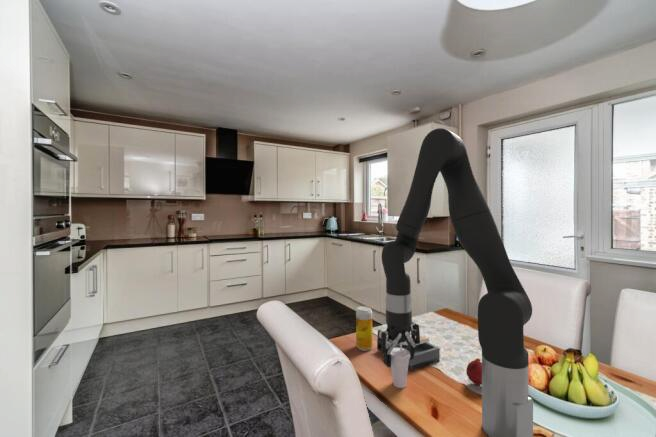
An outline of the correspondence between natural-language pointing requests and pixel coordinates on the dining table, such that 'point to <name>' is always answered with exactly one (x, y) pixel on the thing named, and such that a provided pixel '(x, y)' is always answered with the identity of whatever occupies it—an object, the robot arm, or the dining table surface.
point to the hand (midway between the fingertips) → (399, 362)
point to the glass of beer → (364, 328)
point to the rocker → (422, 340)
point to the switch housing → (423, 355)
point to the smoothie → (399, 366)
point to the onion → (475, 371)
